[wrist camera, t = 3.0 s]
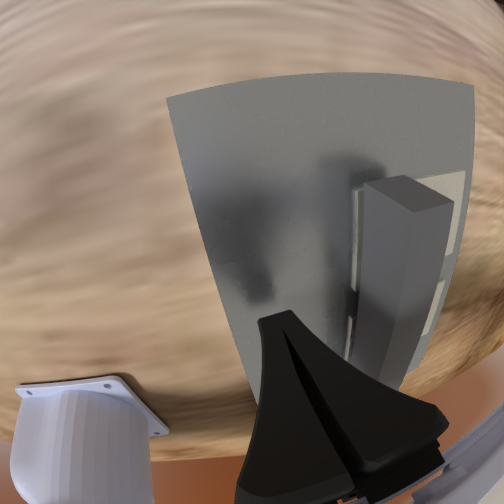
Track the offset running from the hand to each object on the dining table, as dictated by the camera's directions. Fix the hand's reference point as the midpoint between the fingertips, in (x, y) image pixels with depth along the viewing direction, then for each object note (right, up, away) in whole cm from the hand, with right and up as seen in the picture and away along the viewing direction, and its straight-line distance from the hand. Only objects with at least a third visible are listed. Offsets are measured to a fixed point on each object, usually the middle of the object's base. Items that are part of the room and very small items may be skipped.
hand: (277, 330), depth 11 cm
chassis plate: (+5, +1, +4) cm, 6 cm away
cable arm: (+5, -1, +3) cm, 6 cm away
